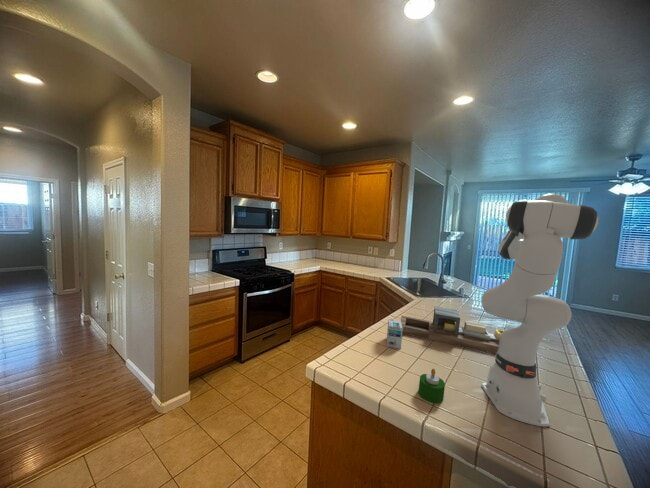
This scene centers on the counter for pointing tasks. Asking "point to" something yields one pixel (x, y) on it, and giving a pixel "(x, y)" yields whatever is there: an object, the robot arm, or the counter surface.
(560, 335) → the counter surface
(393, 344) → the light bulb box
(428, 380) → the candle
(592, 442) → the counter surface
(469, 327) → the maple block
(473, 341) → the tunnel deck
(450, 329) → the sled
